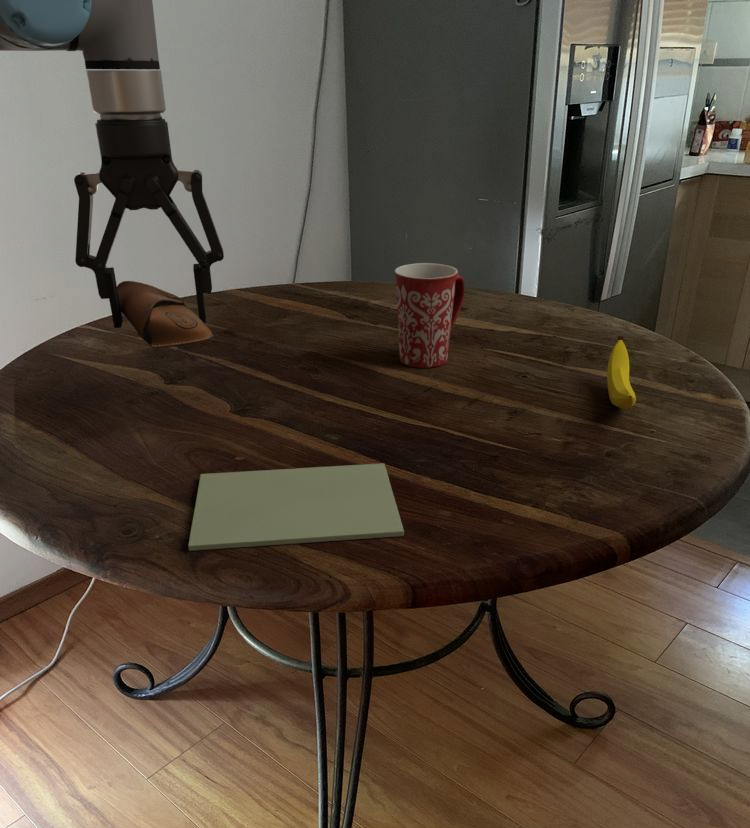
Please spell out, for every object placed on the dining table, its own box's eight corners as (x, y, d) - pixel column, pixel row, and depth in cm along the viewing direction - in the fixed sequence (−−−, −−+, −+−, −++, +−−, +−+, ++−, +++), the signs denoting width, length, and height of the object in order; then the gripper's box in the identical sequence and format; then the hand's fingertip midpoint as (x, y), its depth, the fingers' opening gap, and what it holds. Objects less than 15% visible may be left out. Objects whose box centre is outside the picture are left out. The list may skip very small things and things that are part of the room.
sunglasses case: (219, 335, 85) (183, 288, 81) (171, 373, 84) (133, 328, 80) (178, 299, 99) (145, 257, 94) (136, 331, 98) (102, 291, 94)
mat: (188, 551, 67) (187, 545, 67) (201, 478, 79) (200, 473, 79) (404, 536, 69) (404, 530, 69) (384, 467, 81) (384, 463, 81)
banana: (611, 433, 89) (620, 383, 86) (602, 377, 105) (609, 334, 102) (636, 435, 89) (645, 385, 85) (623, 379, 105) (631, 335, 101)
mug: (423, 375, 106) (426, 280, 99) (381, 359, 112) (381, 269, 105) (481, 355, 113) (487, 266, 107) (439, 342, 119) (442, 256, 112)
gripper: (233, 114, 84) (250, 309, 95) (29, 115, 80) (71, 318, 92) (235, 117, 78) (253, 325, 89) (14, 119, 74) (61, 337, 85)
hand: (161, 322), depth 90 cm, fingers closed on sunglasses case, 9 cm apart
